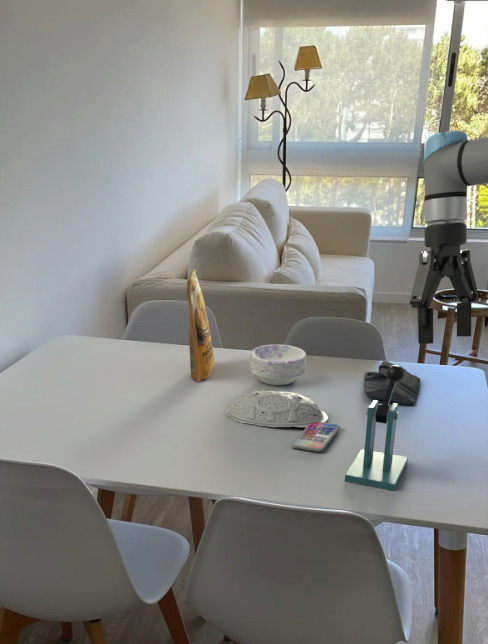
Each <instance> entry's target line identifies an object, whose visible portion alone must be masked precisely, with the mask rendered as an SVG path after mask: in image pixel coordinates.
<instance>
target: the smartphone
mask: <svg viewBox="0 0 488 644" xmlns="http://www.w3.org/2000/svg"><path fill="white" fill-rule="evenodd" d="M340 429H341V425H340V424H338V423H333V422H327V421H326V422H319V421H318V422H315V423H312V424H309V425H308V426H307V427H304V429H303V430H302V431H301V433H300V434H299V435H298V436H297V437H296V438H295V440H294V441H293V442H292V443H291V447H292V448H293V449H296V450H302V451H303V450H304V451H307V452H308V451H309V452H314V453H322V452H324V451H325V450H326V448H327V447H328V445H329V444H330V442H331V441H332V440H333V439H334V437H335V436H336V435H337V433H338V432H339V431H340Z"/></svg>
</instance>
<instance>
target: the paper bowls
mask: <svg viewBox="0 0 488 644" xmlns="http://www.w3.org/2000/svg"><path fill="white" fill-rule="evenodd" d="M306 365H307V353H306V352H305V350H303V349H302V348H300V347H297V346H292V345H289V344H267V345H266V344H265V345H259V346H257V347H255V348H253V349H252V350H251V351H250V353H249V370H250V372H251V373H252V374H253V375H255V376H257V378H258V380H259V381H260V382H262V383H264V384H267V385H270V386H285V385H286V386H287V385H290V384H292V383H294V382H295V381H297V378H298V377H299V376H302V375H303V374H304V373H305V372H306Z"/></svg>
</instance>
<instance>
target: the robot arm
mask: <svg viewBox="0 0 488 644" xmlns="http://www.w3.org/2000/svg"><path fill="white" fill-rule="evenodd" d="M422 166H423V176H424V177H423V178H424V180H423V181H424V182H423V183H424V208H423V213H424V223H425V224H427V226H425V228H424V229H423V230H424V232H423V233H424V246H425V248H430V250H428V251H421V252H419V255H418V256H419V257H418V265H417V266H418V267H417V269H416V274H415V278H414V282H413V286H412V290H411V294H410V298H409V304H410V305H411V308H413V309H417V337H418V338H417V342H418V343H417V344H419V345H421V344H425V345H426V344H429V345H431V344H432V345H433V344H434V307H433V306H432V307H431V305H432V303H433V300H434V297H435V295H436V293H437V290H438V288H439V287H440V284H441V281H442V279H444V278H445V277H446V278H448V279H449V281H450V282H451V286H452V288H453V289H454V292H455V294H456V296H457V298H458V301H459V302H457V303H456V337H467V338H469V337H472V303H476V302H478V298H479V291H478V287H477V283H476V279H475V273H474V270H473V266H472V262H471V251H470V249H463V250H461V246H463V245H465V244H467V240H468V238H467V236H468V235H467V234H468V226H467V224H466V223H465V222H464V221H467V219H468V199H467V197H468V187H472V186H476V185H483V184H488V136H485V137H480V138H477V139H472V140H470V139H469V140H468V135H467V133H466V132H464V131H463V130H448V131H444V132H443V131H442V132H441V131H440V132H437V133H434V134H431V135H429V136H428V137H427V138H426V140H425V141H424V153H423V161H422Z"/></svg>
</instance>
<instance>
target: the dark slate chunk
mask: <svg viewBox="0 0 488 644" xmlns="http://www.w3.org/2000/svg"><path fill="white" fill-rule="evenodd" d="M393 365H396V364H395V363H392V362H389V361H387V360H383V361H382V362H381V364H380V365H378V371H366V372H365V373H364V378H363V387H364V391H363V392H364V395H365V397H367V398H369V399H373V400H378V401H382V402H383V401H384V398H385V394H386V391H387V388H388V385H389V382H390V381H389V380H388V378H387V370H388V369H389V368H390V367H391V366H393ZM399 366H400V367H402V368H403V370H404V378H403V379H402V380H401V381H400V382H397V383H396V384H395V387H394V390H393V393H392V397H391V400H390V403H398V405H405V406H413V405H415V404H416V402H417V399H418V396H419V391H420V387H421V378H420V377H418V376H417V375H416V374H412V373H410V372H409V371H407V369H406V368H404V367H403V366H401V365H399Z"/></svg>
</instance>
